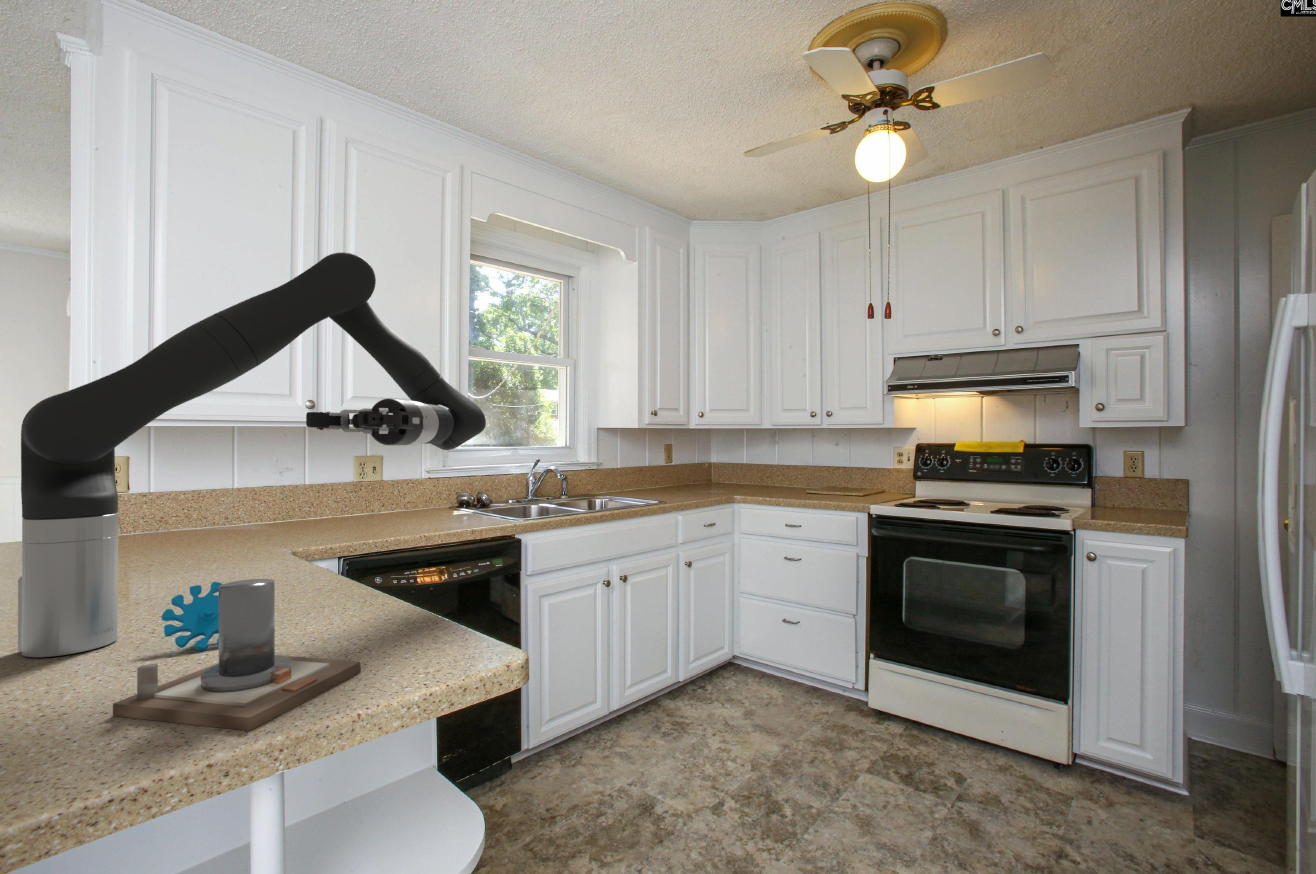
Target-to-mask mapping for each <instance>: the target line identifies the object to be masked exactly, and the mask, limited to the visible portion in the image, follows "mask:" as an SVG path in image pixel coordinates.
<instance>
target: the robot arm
mask: <svg viewBox="0 0 1316 874" xmlns="http://www.w3.org/2000/svg"><path fill="white" fill-rule="evenodd" d="M376 280H377V279H376V274H375V271H374V269H373V267H372V264H370V263H369V262H368V261H367V260H366V258H365V259H364V258H363V257H361V256H360V255H358V254H355V253H351V252H343V251H342V252H334V253H330V254H327V255H326V256H324V257H323V258H321V259H320V260H319V261H318V262H317V263H315V264H314V265H312V266H310V267H309V268H307V269H306V270H305V271H303V272H301V273H300V274H298V275H297V276H295V277H293V278H292V279H290V280H288V281H287V282H285V283H284V284H281V285H279V286H277V287H274V288H272V289H270V290H267V291H264V292H262V293H259V294H257V295H254V296H252V297H249V298H247V299H245V300H242V301H240V302H238V303H236V304H234V305H231V306H229V307H227V308H225V309H223V310H220V311H218V312H216V313H214V314H212V315H210V316H207V317H206V318H204V319H202V320H199V321H197V322H195V323H193V324H192V325H190V326H188V327H186V328H185V329H182V330H181V331H179V332H177V333H176V334H174V335H173V336H171V337H170V338H167V339H166V340H165V341H163V342H162V343H160V344H159V345H158V346H156V347H154V348H153V349H151V350H150V351H149V352H147V353H146V354H144V355H143V356H142V357H141V358H138V359H137V360H136V361H134V362H133V363H130V364H129V365H127V366H125V367H123V368H121V369H119V370H116V371H114V372H112V373H110V374H107V375H105V376H102V377H100V378H97V379H96V380H95V379H94V381H91V382H88V383H86V384H83V385H80V386H78V387H76V388H72V389H70V390H67V391H65V392H61V393H57V394H54V395H52V396H49V397H46V398H44V399H42V400H40V401H39V402H37V403H36V404H35V405H34V406H32V407H31V408H30V409H29V410H28V412H27V413H26V414H25V416H24V417H23V420H22V423H21V427H20V428H21V429H20V430H21V431H20V473H21V474H20V495H21V498H20V499H21V545H22V547H21V548H22V549H21V555H22V557H21V562H22V563H21V576H20V577H19V578H18V579H17V652H21V655H22V656H23V657H26V658H27V657H28V658H49V657H50V658H51V657H57V656H58V657H59V656H65V655H66V656H67V655H71V654H77V653H82V652H86V651H92V650H95V649H99V648H101V647H105V646H107V645H110V644H112V643H114V642H116V641H117V640H118V638H119V637H118V635H119V632H118V631H119V630H118V628H119V623H118V622H119V513H118V512H119V496H118V495H119V494H118V490H117V482H116V470H115V469H116V467H115V466H116V463H115V462H116V454H115V453H116V452H115V449H116V448H117V446H119V445H120V444H122V443H123V442H125V441H126V440H127V439H128V438H130V437H131V436H133V435H134V434H135V433H137V432H138V431H139V430H141V429H142V428H144V427H145V426H146V425H148V424H150V423H151V422H153V421H154V420H156V419H157V418H158V417H160V416H161V415H164V414H165V413H166V412H168V411H170V410H172V409H174V408H175V407H179V406H180V405H183V404H185V403H187V402H189V401H192V400H194V399H196V398H199V397H201V396H204V395H206V394H208V393H210V392H212V391H214V390H216V389H218V388H220V387H222V386H224V385H226V384H228V383H230V382H232V381H235V380H236V379H237V378H239V377H241V376H243V375H244V374H246V373H248V372H249V371H251V370H253V369H255V368H256V367H257V368H258V366H260V365H261V364H263V363H264V362H266V361H267V360H269V359H271V358H272V357H274V356H275V355H276V354H278V353H279V352H280V351H282V350H283V349H284V348H286V347H287V346H288V345H289V344H291V343H292V342H294V341H295V340H296V339H297V338H298V337H299V336H301V335H302V334H303V333H305V332H306V331H307V330H309V329H310V328H312V327H313V326H315V325H316V324H318V323H320V322H322V321H323V320H325V319H328V318H329V319H331V321H333V322H334V323H335V324H336V325H338V326H339V328H341V329H342V330H343V331H345V332H346V333H347V335H349V336H350V337H351V338H352V339H353V340H354V341H356V343H358V345H360V346H361V348H363V349H364V350H365V351H366V353H368V354H369V355H370V356H371V357H372V358H373V359H374V360H375V361H376V362H377V363H378V364H379V365H380V366H381V367H382V369H383V370H384V371H385V372H386V374H387V375H389V376H390V378H392V380H393V382H395V383H396V384H397V386H398V387H399V388H400V389H401V390H402V391H403V393H404V394H405V395H406V396H407V397H408V398H409V399H410V400H409V399H408V400H407V399H400V398H399V399H398V398H392V397H391V398H390V397H389V398H383V399H381V400H379V401H377V402H376V403H374V405H373V406H372V408H361V409H341V410H340V411H339V412H331V411H326V412H324V411H319V412H318V411H308V412H306V415H305V416H306V417H305V419H306V421H305V424H306V427H307V428H313V429H314V428H315V429H316V430H319V431H324V430H326V431H327V430H328V431H330V430H340V432H341V433H360V434H362V435H371V437H372V438H373V440H375V441H376V442H377V443H379V444H380V445H384V446H416V445H424V444H425V445H433V446H435V447H437V448H439V449H440V450H442V451H450V450H454V449H456V448H459V447H460V446H461V445H463V444H465V443H467V442H468V441H469V440H471V439H473V438H474V437H476V436H478V435H479V434H481V433H482V432H483V431H484V430H485V428H486V426H487V425H486V424H487V421H486V416H485V413H484V412H483V410H482V409H481V408H480V407H479V405H478V404H477V403H475V402H474V401H473V400H471V399H470V398H468V397H467V396H465V395H464V394H462V393H461V392H460V391H458V390H457V389H456V388H454V387H453V386H452V385H451V384H450V383H448V382H447V381H446V380H445V379H444V378H443V376H441V374H440V373H439V372H438V370H437V369H436V368H435V367H434V366H433V364H432V363H431V362H430V360H429V359H428V358H427V357H426V356H425V355H424V354H423V353H422V352H421V351H419V349H417V348H416V347H415V346H414V345H412V343H410V342H408V341H407V340H406V339H404V338H403V337H402V336H400V335H399V334H398V333H397V332H395V331H394V330H392V329H391V328H390V326H388V325H387V324H386V323H385V322H384V321H383V320H382V319H381V318H380V317H379V316H378V315H377V313H376V312H375V310H374V309H373V308H372V306H371V305H370V303H369V302H368V301H369V299H371V297H372V295H373V294H374V292H375V288H376V283H377V282H376ZM350 414H353V415H352V418H350ZM350 426H353V428H350Z"/></svg>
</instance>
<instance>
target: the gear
mask: <svg viewBox="0 0 1316 874" xmlns="http://www.w3.org/2000/svg"><path fill="white" fill-rule="evenodd" d="M220 585H223V583H221V582H220V581H219V582H218V581H212V582H211V584H210V590H209V591H208V592H207V593H206V594H205V595H204V596H202V597H201V596H200V594H201V593H202V590H203V587H202V585H201V584H200V585H191V586H190V587H189V595H190V596H191V597H192V601H191V602H190V603H184V602H185V599H184V598H185V597H184V595H183V594H178V595H176V596H174V597H172V598H171V599H170V600H171V604H172V606H174V607H178V608H180V610H182V613H181V614H176V613H175V610H173V609H172V608H166V609H165V610H164V611H163V613H162V615H161V621H163V622H170V621H172V622H173V621H174V622H175V621H176V622H178V623H180V624H181V625H179V626H177V625H174V624H171V623H169V624H165V625H164V627H163V633H164V637H165V638H166V637H167V638H169V637H172V636H174V635H176V634H178V633H184V632H185V633H186V632H188V633H189V634H187V635H186V634H185V635H179V636H177V637H176V638H174V641H175V642H174V643H175V645H176V646H177V647H178V648H180V649H183V648H185V647H186V646H187V645H188V644H189V643H190V641H192V640H194V639H196V638H198V637H200V636H203V638H201V639H199V640H197V641H196V642H195V643H194V649H195V650H197V651H206V650H207V649H208V645H209V641H210V639H211V638H212V637H213V636H214V635H216V634H219V594H217V595H215V594H216V593H219V586H220ZM216 645H217V646H218V647H219V636H218V638H217V639H216Z"/></svg>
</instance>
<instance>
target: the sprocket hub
mask: <svg viewBox="0 0 1316 874" xmlns="http://www.w3.org/2000/svg"><path fill="white" fill-rule="evenodd" d="M275 584H276V583H275V579H271V578H253V579H249V578H248V579H241V580H236V581H231V582H227V583H222V585H220V586H219V592H218V595H219V633H218V637H219V646H218V663H219V665H217V666H214V667H212V668H210V669H208V670H206V671H205V672H204V673H203V674H202V675H201V688H202V689H203V690H205V691H208V692H216V693H225V692H237V691H243V690H249V689H254V688H258V687H262V686H265V685H268V684H271V683H275V684H280V683H282V682H284V681H286V680H289V679H291V660H290V659H289V658H287V657H283V656H284V655H281V656H275V655H276V653H275V652H276V650H275V649H276V647H275V644H276V643H275V642H276V640H275V638H276V636H275V634H276V633H275V632H276V629H275V627H276V621H275V620H276V618H275V617H276V616H275V615H276V613H275V611H276V610H275V609H276V608H275V605H276V603H275V602H276V596H275V595H276V594H275V591H276V589H275V587H276V585H275Z"/></svg>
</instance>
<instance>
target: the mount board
mask: <svg viewBox="0 0 1316 874" xmlns="http://www.w3.org/2000/svg"><path fill="white" fill-rule="evenodd" d="M275 656H283V657H287V658H289V659H290V660H291V679H289V680H286V681H284V682H282V683H280V684H275V683H271V684H268V685H265V686H262V687H258V688H254V689H249V690H243V691H237V692H225V693H216V692H208V691H205V690H203V689H202V688H201V675H202V674H203V673H204V672H205V671H206V670H208V669H210V668H212V667H214V666H217V665H219V662H217V663H215V664H212V665H210V666H207V667H204V668H202V669H200V670H196V671H194V672H191V673H189V674H186V675H184V676H181V677H179V678H178V677H177V678H176V679H173V680H171V681H168V682H165V683H163V684H160V685H159V679H158V678H159V675H158V674H159V672H158V670H159V665H158V663H149V664H143V665H140V666H138V667H137V668H136V689H137V690H136V694H134V695H131V696H129V697H125V698H124V699H120V700H119V701H115V702H113V703H112V717H122V718H130V719H139V720H146V721H147V720H149V721H157V722H159V721H160V722H167V723H175V724H183V725H184V724H185V725H193V726H201V727H210V728H211V727H213V728H222V729H231V730H238V731H239V730H240V731H248V732H251V730H254V729H256V728H257V727H260V726H262V725H264V724H265V723H267V722H269V721H270V720H273V719H274V718H276V717H278V716H281V715H282V714H284V713H286V712H287V711H289V710H292V709H294V708H295V707H297V706H299V705H302V704H303V703H304V702H307V701H309V700H311V699H312V698H315V697H316V696H318V695H321V694H322V693H325V692H326V691H327V690H330V689H332V688H333V687H335V686H337V685H339V684H340V683H342V682H345V681H346V680H349V679H351V678H353V677H354V676H355V675H357V674H360V673H361V671H362V669H361V668H362V667H361V666H362V665H361V663H362V662H361V661H358V660H357V661H354V660H343V659H331V658H330V659H329V658H320V657H319V658H317V657H307V656H306V657H304V656H292V655H281V654H280V655H278V654H275Z"/></svg>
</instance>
